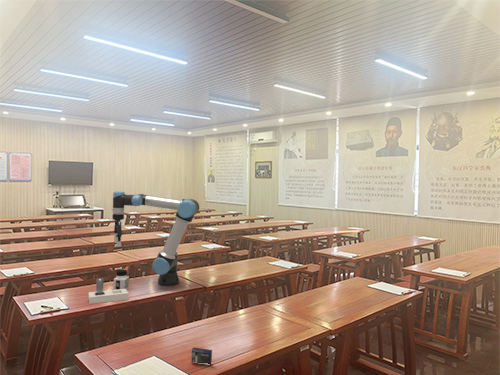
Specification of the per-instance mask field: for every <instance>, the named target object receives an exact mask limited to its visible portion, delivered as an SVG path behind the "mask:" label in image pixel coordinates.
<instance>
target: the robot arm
mask: <svg viewBox="0 0 500 375" xmlns="http://www.w3.org/2000/svg"><path fill="white" fill-rule="evenodd" d="M125 206H127V207H128V206H131V207H139V206H147V207H154V208H161V209H168V210H174V211H176V214H175V221H174V223H173V225H172V229H171V230H170V233H169V235H168V237H167V239H166V242H165V244H164V246H163V248H162V250H160V251H159V252H158V254H157V257H156V258H155V259H154V260H153V261H152V263H151V264H152V270H153V271H154V273H155V274H157V275H159V276H158V278H157V284H158V285H159V286H165V287H169V286H170V285H172V286H176V285H178V284H180V278H179V275H178V256H179V255H178V252H177V251H178V250H177V249H178V248H179V246H180V243H181V241H182V238H183V237H184V234H185V231H186V229H187V228H188V225H189V224H190V223H192V222H193V220H194V217H195V215H197V214H198V212H199V211H200V204H199V202H198V201H197V200H195V199H193V198H188V199H186V198H182V199H177V198H170V197H162V196H154V195H147V194H144V193H137V194H125V191H121V190H119V191H113V194H112V208H111V211H112V218H111V219H112V220H113V221H114V229H113V233H114V239H113V240H114V242H113V243H115V244H116V247H121V246H122V236H123V233H122V220H124V219H125V214H124V213H125ZM175 284H176V285H175Z"/></svg>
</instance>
